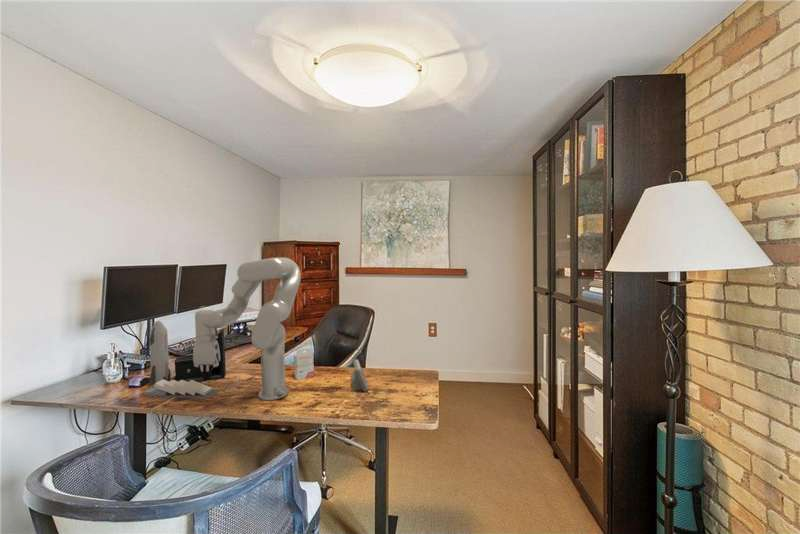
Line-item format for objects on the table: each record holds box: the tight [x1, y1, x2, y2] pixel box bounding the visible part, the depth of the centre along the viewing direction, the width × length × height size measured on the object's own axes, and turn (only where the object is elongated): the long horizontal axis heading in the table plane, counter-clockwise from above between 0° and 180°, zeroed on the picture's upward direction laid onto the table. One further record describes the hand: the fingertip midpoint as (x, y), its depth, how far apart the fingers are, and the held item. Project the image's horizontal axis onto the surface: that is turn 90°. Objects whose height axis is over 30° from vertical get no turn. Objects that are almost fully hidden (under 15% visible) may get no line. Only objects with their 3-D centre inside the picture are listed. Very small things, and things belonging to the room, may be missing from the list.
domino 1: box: [143, 387, 168, 396], centre depth 158 cm, size 2×5×10 cm
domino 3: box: [164, 379, 188, 395], centre depth 157 cm, size 2×5×10 cm
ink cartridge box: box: [293, 347, 315, 381], centre depth 177 cm, size 9×5×15 cm, turn 120°
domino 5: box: [183, 380, 213, 395], centre depth 156 cm, size 2×5×10 cm
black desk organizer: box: [172, 328, 227, 383], centre depth 176 cm, size 23×11×24 cm, turn 113°
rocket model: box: [148, 320, 172, 387], centre depth 173 cm, size 14×7×30 cm, turn 177°
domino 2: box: [153, 379, 177, 395], centre depth 157 cm, size 2×5×10 cm
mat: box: [157, 388, 223, 399], centre depth 157 cm, size 23×10×1 cm, turn 86°
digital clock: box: [350, 359, 369, 392], centre depth 163 cm, size 16×9×11 cm, turn 0°
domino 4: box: [173, 380, 197, 395], centre depth 157 cm, size 2×5×10 cm
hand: (206, 379), depth 156 cm, fingers closed
